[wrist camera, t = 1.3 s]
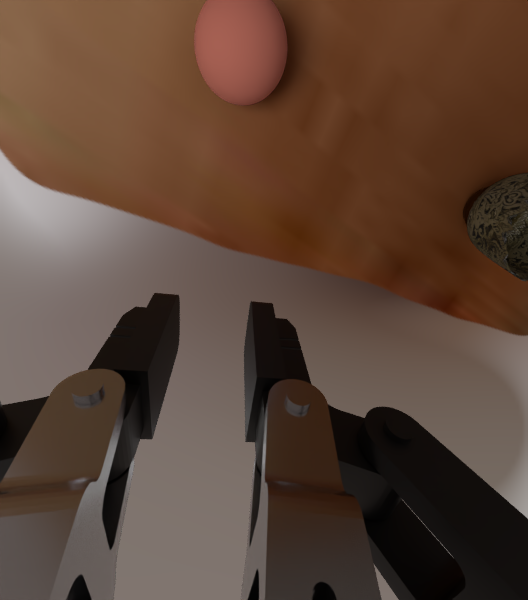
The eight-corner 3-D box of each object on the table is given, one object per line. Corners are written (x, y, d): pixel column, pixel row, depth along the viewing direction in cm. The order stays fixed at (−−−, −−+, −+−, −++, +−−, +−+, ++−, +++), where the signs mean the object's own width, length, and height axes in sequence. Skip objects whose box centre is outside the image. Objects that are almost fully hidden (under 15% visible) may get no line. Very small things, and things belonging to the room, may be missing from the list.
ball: (201, -4, 18) (188, -53, 14) (288, 15, 19) (304, -25, 14) (198, 101, 21) (186, 91, 16) (274, 114, 22) (284, 109, 17)
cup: (421, 216, 26) (486, 246, 19) (492, 140, 24) (598, 143, 17) (468, 261, 29) (541, 301, 22) (538, 197, 26) (646, 219, 19)
